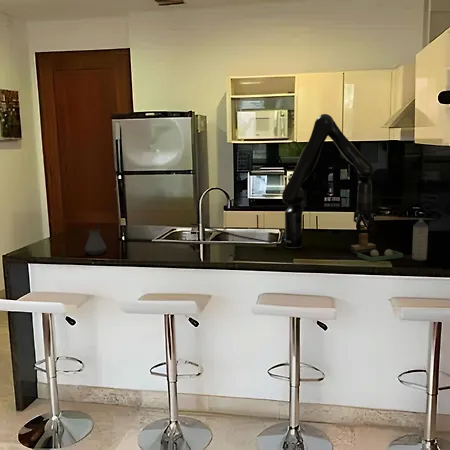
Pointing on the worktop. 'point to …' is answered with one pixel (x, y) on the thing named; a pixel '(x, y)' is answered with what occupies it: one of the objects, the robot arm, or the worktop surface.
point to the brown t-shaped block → (363, 245)
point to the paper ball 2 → (388, 252)
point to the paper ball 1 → (374, 253)
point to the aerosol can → (420, 241)
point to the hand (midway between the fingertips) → (363, 232)
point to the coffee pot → (95, 242)
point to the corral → (395, 255)
